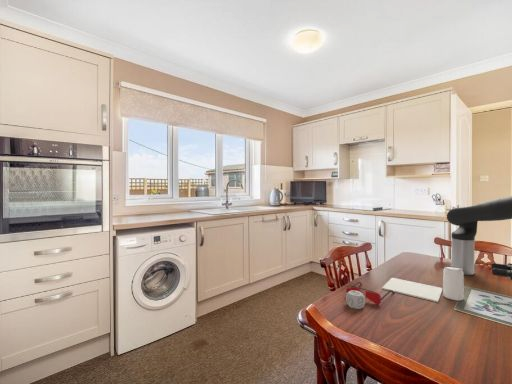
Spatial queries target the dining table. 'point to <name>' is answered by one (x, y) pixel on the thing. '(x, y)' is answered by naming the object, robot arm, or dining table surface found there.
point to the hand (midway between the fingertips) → (491, 268)
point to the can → (453, 283)
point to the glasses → (369, 294)
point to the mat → (414, 289)
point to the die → (355, 299)
